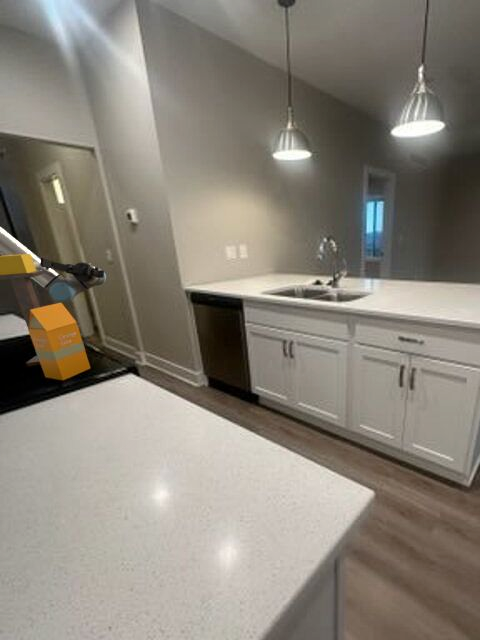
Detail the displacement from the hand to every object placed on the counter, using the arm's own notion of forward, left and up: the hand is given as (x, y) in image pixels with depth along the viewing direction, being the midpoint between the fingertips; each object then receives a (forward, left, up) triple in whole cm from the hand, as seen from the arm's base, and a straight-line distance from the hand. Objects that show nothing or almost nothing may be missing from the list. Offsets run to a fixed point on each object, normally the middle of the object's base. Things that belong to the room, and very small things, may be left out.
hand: (64, 265), depth 118 cm
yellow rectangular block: (+1, -14, 0) cm, 14 cm away
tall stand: (+3, -18, -28) cm, 33 cm away
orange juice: (+19, -25, -28) cm, 42 cm away
